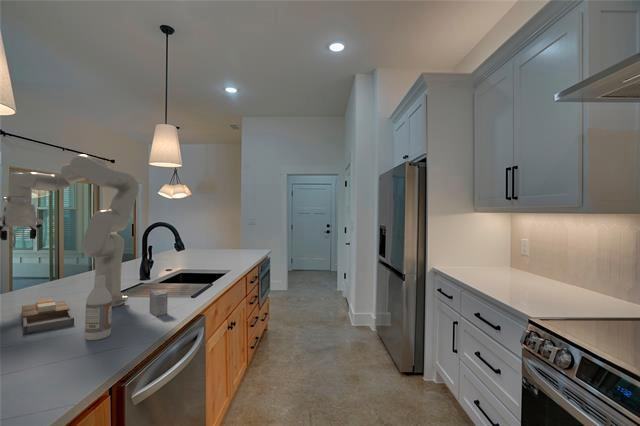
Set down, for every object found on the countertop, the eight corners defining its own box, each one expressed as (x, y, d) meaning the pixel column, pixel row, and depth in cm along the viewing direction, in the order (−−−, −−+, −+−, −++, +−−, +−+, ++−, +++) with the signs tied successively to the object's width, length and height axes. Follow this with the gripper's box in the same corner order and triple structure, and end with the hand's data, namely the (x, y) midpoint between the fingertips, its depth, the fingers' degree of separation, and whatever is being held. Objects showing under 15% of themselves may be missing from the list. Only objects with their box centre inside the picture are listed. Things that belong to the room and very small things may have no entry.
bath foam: (108, 339, 98) (110, 277, 99) (82, 342, 95) (84, 278, 96) (112, 331, 105) (114, 273, 105) (87, 334, 102) (89, 274, 102)
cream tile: (37, 309, 117) (37, 304, 117) (54, 306, 120) (54, 301, 120) (38, 312, 113) (38, 307, 113) (55, 309, 117) (55, 304, 117)
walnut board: (21, 313, 120) (21, 305, 120) (64, 307, 130) (64, 300, 130) (22, 324, 109) (22, 316, 109) (69, 316, 118) (69, 309, 118)
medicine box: (167, 314, 124) (168, 293, 124) (155, 316, 121) (156, 295, 121) (160, 310, 129) (161, 289, 129) (148, 312, 126) (149, 291, 126)
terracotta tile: (36, 305, 121) (36, 300, 121) (52, 303, 125) (52, 298, 125) (36, 308, 118) (37, 303, 118) (53, 306, 121) (54, 301, 121)
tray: (22, 324, 109) (23, 317, 109) (69, 316, 118) (69, 310, 118) (23, 334, 100) (24, 326, 100) (73, 325, 110) (74, 318, 110)
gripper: (-3, 199, 125) (-4, 241, 125) (48, 201, 141) (47, 238, 141) (-12, 199, 128) (-13, 240, 128) (39, 201, 144) (38, 237, 143)
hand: (18, 239), depth 134 cm, fingers open, 9 cm apart
